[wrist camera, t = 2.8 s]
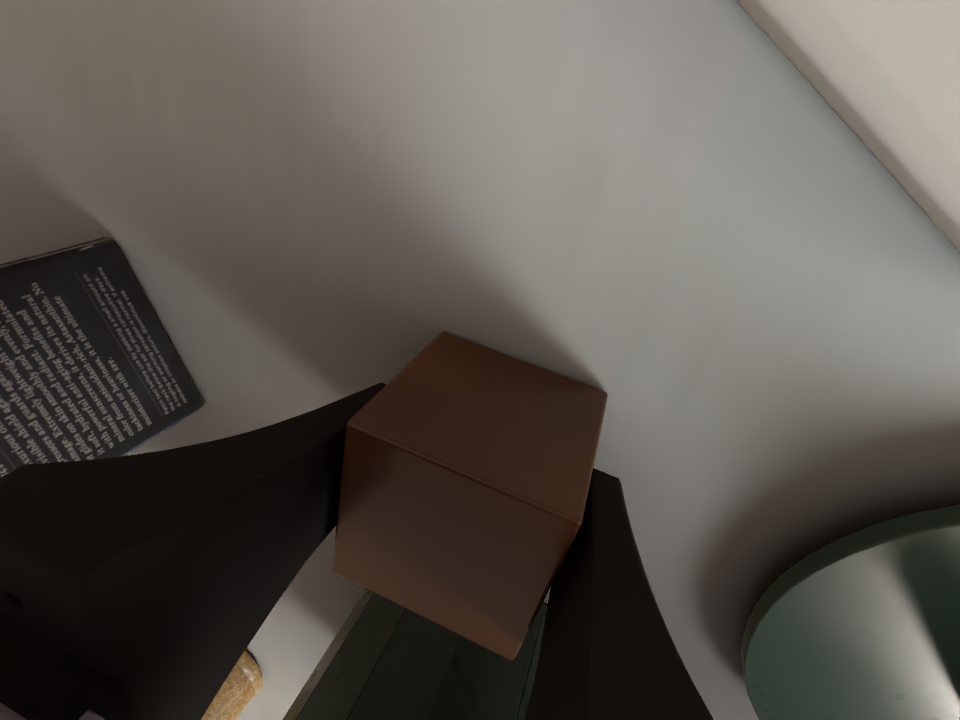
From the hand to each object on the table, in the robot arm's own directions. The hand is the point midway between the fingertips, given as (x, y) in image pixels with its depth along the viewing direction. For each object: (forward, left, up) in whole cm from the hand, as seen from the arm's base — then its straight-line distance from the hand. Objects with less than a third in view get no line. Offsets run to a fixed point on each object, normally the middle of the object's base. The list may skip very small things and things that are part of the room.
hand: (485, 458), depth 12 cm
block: (0, 0, -1) cm, 1 cm away
